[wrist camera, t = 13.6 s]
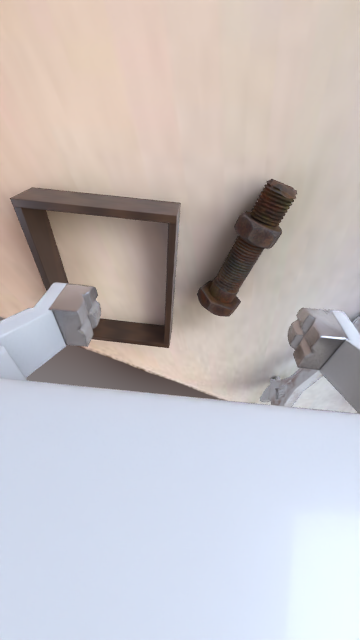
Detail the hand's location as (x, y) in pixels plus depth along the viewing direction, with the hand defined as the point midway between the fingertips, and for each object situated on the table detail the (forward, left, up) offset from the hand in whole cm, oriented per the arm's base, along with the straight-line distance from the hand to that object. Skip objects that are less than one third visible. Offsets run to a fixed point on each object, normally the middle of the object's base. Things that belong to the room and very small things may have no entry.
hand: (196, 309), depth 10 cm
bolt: (+6, -6, -20) cm, 22 cm away
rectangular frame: (-11, -12, -20) cm, 26 cm away
